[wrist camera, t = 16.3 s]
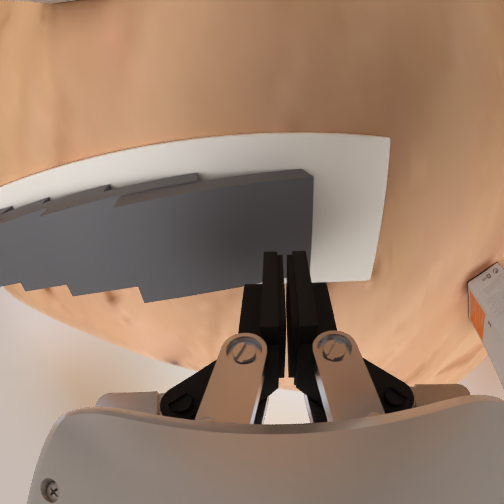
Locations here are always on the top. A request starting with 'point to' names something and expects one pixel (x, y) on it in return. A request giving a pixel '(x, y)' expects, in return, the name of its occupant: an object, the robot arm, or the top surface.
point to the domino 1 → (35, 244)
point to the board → (250, 162)
